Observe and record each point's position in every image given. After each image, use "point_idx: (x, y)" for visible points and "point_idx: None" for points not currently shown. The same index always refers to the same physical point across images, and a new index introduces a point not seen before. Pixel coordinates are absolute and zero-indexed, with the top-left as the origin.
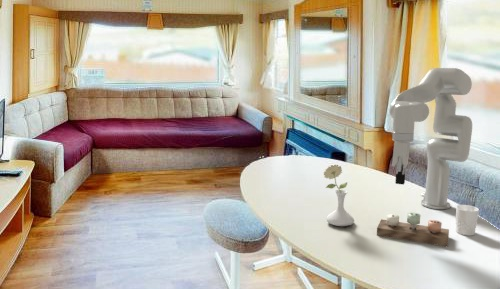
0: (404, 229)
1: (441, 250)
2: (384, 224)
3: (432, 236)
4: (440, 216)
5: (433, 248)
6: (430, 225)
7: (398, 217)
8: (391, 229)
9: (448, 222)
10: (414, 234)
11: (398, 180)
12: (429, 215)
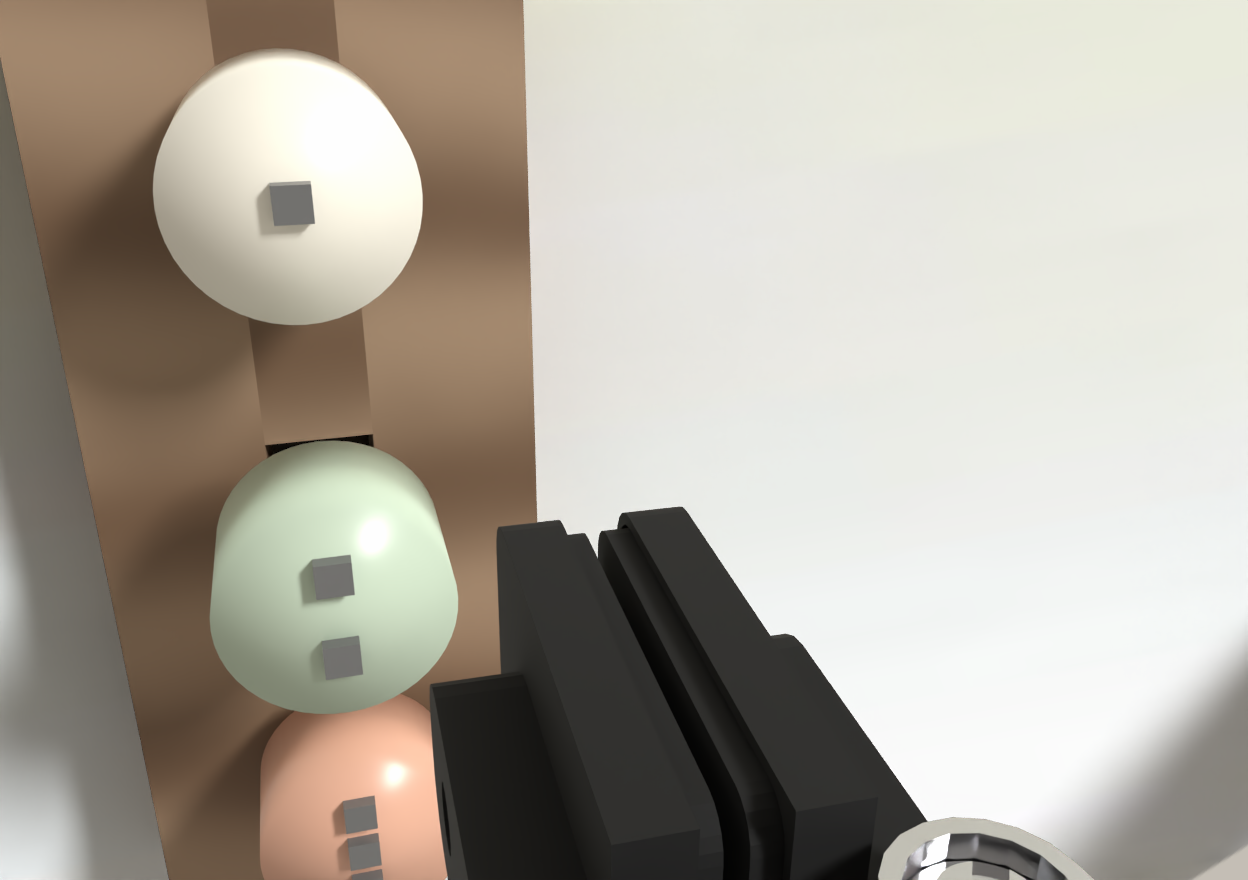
0: (202, 383)
1: (9, 822)
2: (256, 9)
3: (148, 767)
4: (1172, 586)
5: (12, 740)
6: (276, 789)
7: (270, 316)
8: (58, 182)
9: (999, 692)
10: (104, 545)
11: (437, 754)
12: (1181, 476)
